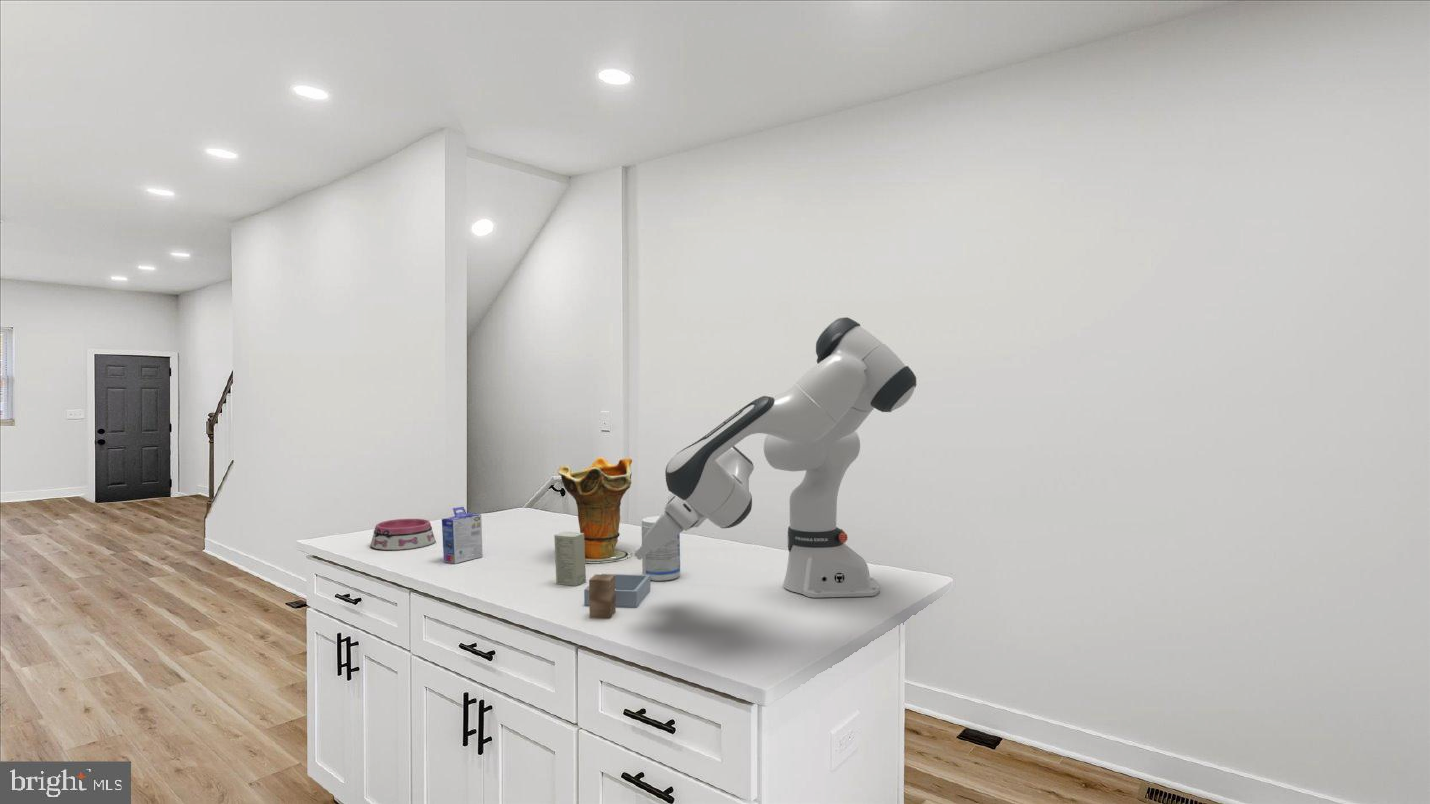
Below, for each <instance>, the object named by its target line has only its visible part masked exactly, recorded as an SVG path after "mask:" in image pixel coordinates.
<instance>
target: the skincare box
mask: <svg viewBox="0 0 1430 804" xmlns="http://www.w3.org/2000/svg"><path fill="white" fill-rule="evenodd" d="M553 537H554V555H555V556H554V557H555V558H554V559H555V581H556V584H557V585H564V586H565V585H566V586H575V587H577V586H580V585H581V584H584V583H585V582H586V581H587V574H586V572H587V571H586V562H585V544H584V533H580V532H573V531H572V532H571V531H562V532H559V533H556V534H554V535H553Z"/></svg>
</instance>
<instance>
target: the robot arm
mask: <svg viewBox="0 0 1430 804" xmlns="http://www.w3.org/2000/svg"><path fill="white" fill-rule="evenodd" d="M815 354H816V356H817V358H816V363H817V364H816V365H814V366H813V367H812V368H811V369H810V370H809V371H807V372H806V373H805V374H804V375H803V376H802V377H801V378H799V379H798V380H797V381H796V382H795V383H796V384H793V386H792V387H790V388H789V389H788V390H786V391H784V392H782V393H780V394H778V395H775V396H767V395H762V396H759V397H757V398H756V399H754V400H753V401H751V402H749V403H748V404H746V405H745V406H743V407H741V408H740V409H739V410H737V411H736V412H734V414H732V415H731V416H729V417H728V418H727V419H725V420H724V421H723V422H721V423H720V424H718V425H717V426H716V427H715V428H714V429H712V430H710V431H709V432H708V433H707V434H705V435H704V436H703V437H701V438H700V439H699V440H696V441H695V442H694V443H692V444H690V445H688V446H686V447H685V448H683V449H682V450H680V451H679V452H677V453H676V454H675V455H674V456H673V457H672V458H670V460H669V462H668V463H667V465H666V467H665V472H664V473H665V482H666V487H667V490H668V491H669V493H671V494H669V495H668V498H667V499H668V500H667V503H666V504H665V506H664V511H663V512H662V514H661V515H659V516H660V517H659V519H658V520H657V521H656V522H655V524H654V525H653V526H652V527H651V528H650V530H649V531H648V532H647V533H646V535H645V536H644V538H643V542H644V543H643V545H642V544H641V546H640V547H639V548H638V549H637V551H635V552H634V556H635V557H636V559H637V560H640V561H642V558H643V557H644V556H645V555H646V554H647V553H649V552H650V551H653V552H655V551H657V550H659V549H660V548H661V547H663V546H664V545H665V544H667V543H668V542H669V541H670V540H672V539H673V538H674V537H675V536H677V535H678V534H679V533H680V534H682V532H684V531H686V532H687V531H688V530H690V529H693V528H699V526H700V525H702V524H703V523H704V522H705V521H706V520H709V522H711V523H712V524H714V525H715V526H717V527H719V528H721V529H730V528H734V527H736V526H738V525H740V524H741V523H742V522H743V521H744V520H745V519H746V518H748V516H749V515H750V513H751V512H752V506H753V498H752V497H753V496H752V493H751V492H750V486H749V485H750V481H749V479H750V476H751V475H752V473H753V471H754V470H755V466H754V463H753V461H752V460H751V459H749V457H747V456H746V455H745V454H744V453H743V452H742V451H740V450H739V448H737V447H736V445H737V444H739V443H740V442H741V441H743V440H744V439H745V438H747V437H749V436H751V435H755V434H764V435H766V437H765V439H764V442H763V453H764V458H765V459H766V461H767V463H768V464H769V466H771V468H773V469H775V470H780V471H785V472H793V473H794V472H802V471H803V472H804V471H805V474H804V477H803V479H802V481H801V482H800V484H799V485H797V487H795V488H794V489H793V490H792V492H791V493H790V494H789V495H790V496H789V526H788V527H787V528H788V529H787V532H786V533H787V536H786V539H787V541H786V542H787V550H788V558H787V559H788V560H787V565H786V572H785V576H784V581H783V584H782V587H783V588H784V589H786V590H787V591H790V592H794V593H798V594H802V595H804V596H805V597H808V598H814V599H815V598H850V597H853V598H854V597H855V598H856V597H857V598H858V597H875V596H876V595H878V594H879V593H880V585H879V582H878V580H876V579H875V578H873V577H871V574H870V569H869V566H868V564H867V562H866V559H864V558H863V557H862V556H861V555H860V554H859V553H857V551H855V550H854V549H852V548H851V547H849V546H848V544H846V542H847V541H848V534H847V533H846V531H844V530H843V529H842V528H839V527H838V526H837V509H838V507H837V505H838V495H839V490H840V486H841V483H842V481H843V478H844V476H845V475H846V472H847V470H848V469H849V467H850V466H851V465H852V463H854V461H856V459H857V458H858V456H859V454H860V450H861V440H860V437H859V434H858V432H857V430H858V429H859V428H860V426H861V425H862V424H863V423H864V421H865V420H866V419H867V418H868V417H869V415H870V414H871V413H872V412H873V410H874V409H875V410H878V411H879V412H881V413H891V412H893V411H895V410H898V409H899V408H901V407H903V406H904V405H905V404H906V403H908V401H909V400H910V399H911V398H912V396H913V394H914V392H915V388H916V386H917V377H916V375H915V373H914V372H913V370H912V369H911V368H910V367H909V366H908V365H906V364H905V363H904V362H903V361H902V360H901V358H900V357H899V356H898V355H897V354H896V353H895V352H894V351H893V350H892V349H891V348H890V347H889V346H887V345H886V344H885V343H883V342H882V341H880V339H878V338H877V337H876V336H874V335H873V334H872V333H870V332H869V331H868V330H866V329H864V328H863V327H862V326H861V324H860V323H859V322H857V321H856V320H854V319H852V318H850V317H848V316H847V317H846V316H845V317H839V318H837V319H835V320H834V321H832V322H831V323H829V324H828V325H826V327H824V329H823V330H822V331H821V333H820V335H819V336H818V338H817V340H816V343H815Z"/></svg>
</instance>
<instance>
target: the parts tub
mask: <svg viewBox="0 0 1430 804" xmlns="http://www.w3.org/2000/svg"><path fill="white" fill-rule="evenodd" d="M600 575H615V589H616V590H615V598H616V608H638V606H639V605H640V604H641V602H642V601H643V600H644V599H645V598H646V597H647V595H648V594H649V592H650V591H651V590H650V589H652V588H651V580H650V575H643V574H626V573H625V574H624V573H622V574H620V573H601V574H600ZM583 592H584V593H583V595H584V597H583V601H584V602H583V603H584V606H585V607H586V606H587V607H589V585H588V586H587V587H586V588H584V591H583Z"/></svg>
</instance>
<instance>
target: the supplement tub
mask: <svg viewBox="0 0 1430 804" xmlns="http://www.w3.org/2000/svg"><path fill="white" fill-rule="evenodd" d="M660 516H661V515H658V516H657V515H656V516H654V515H653V516H647V517H644V518H642V520H641V546H642V545H643V543H644V542H643V538H644V536H645V535H646V533H647V532H648V531H649V530H650V528H651V527H652V526H653V525H654V524H655V522H656V521H657V520H658V519H659V517H660ZM680 535H681V533H679V534H678V535H677V536H675V537H674V538H673V539H672V540H670V541H669V542H668V543H667V544H665V545H664V546H663V547H661V548H660V549H659V550H657V551H655V552H653V551H650V552H649V553H647V554H646V555H645V556H644V557H643V558H642V559H641V561H642V562H641V564H642V565H641V566H642V575H650V581H655V582H657V581H658V582H661V581H662V582H663V581H671V580H675V579H677V578H679V576H680V575H681V546H680V545H681V544H680V543H681V540H680V538H681V537H680Z"/></svg>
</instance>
